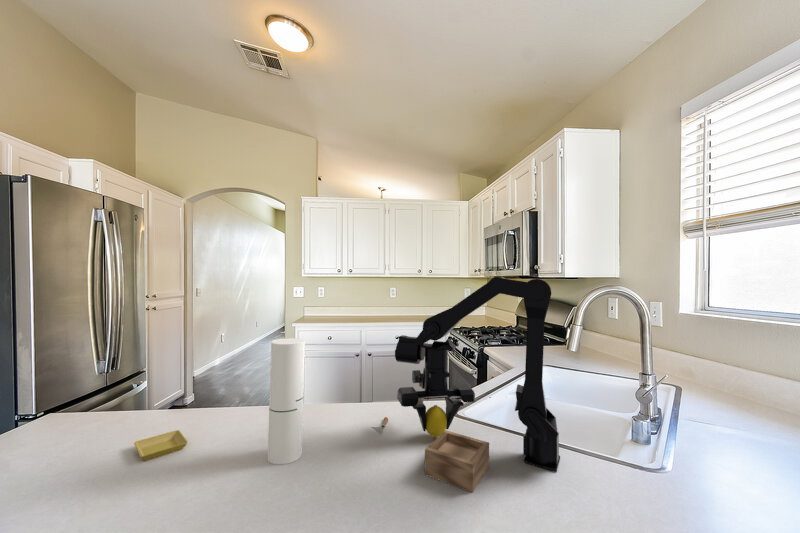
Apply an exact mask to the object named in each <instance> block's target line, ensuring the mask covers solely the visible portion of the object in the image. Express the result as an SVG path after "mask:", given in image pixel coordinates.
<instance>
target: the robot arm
mask: <svg viewBox="0 0 800 533" xmlns="http://www.w3.org/2000/svg"><path fill="white" fill-rule="evenodd" d="M500 294H502V295H505V296H511V297H516V298H520V299H521V298H522V299H523V304H524V309H525V315H526V338H525V342H526V345H525V346H526V347H525V367H524V368H525V370H524V372H525V373H524V381H523V385H522V384H517V385H516V389H515V398H516V400H515V401H516V402H515V406H514V411H515V412H517V415H518V420H519V421H520V422H521V423H522V424H523V425H524V426H525V427H526V430H525V432H524V435H523V436H522V437H523V439H522V441H523V446H522V447H523V450H522V451H523V456H524V458H523V462H524V463H527V464H530V465H533V466H536V467H540V468H544V469H546V470H550V471H553V472H557V471H558V469H559V466H560V465H559V464H560V461H561V456H560V451H559V450H560V447H559V446H560V438H559V437H560V432H559V431H558V425H557V417H556V416H555V415H554V414H553V413H552V411H550V410H549V409H548V407H547V403H546V397H545V390H544V389H545V388H544V384H543V372H544V371H543V369H544V367H543V366H544V348H545V347H544V342H545V323H546V322H545V321H546V317H547V314H548V309H549V306H550V303H551V302H550V301H551V296H552V288H551V285H550V284H549V283H548V282H546V281H545V280H543V279H540V278H533V279H530V280H528V281H523V280H515V279H509V278H505V277H502V276H494V277H491V279H490V280H489V281H488V282H486V283H485V284H483V285H482V286H481V287H479V288H478V289H476V290H474V292H472V293H470V294H469V295H468V296H466V297H465V298H464V299H462V300H461V301H459V302H458V303H456V304H455V305H453V306H452V307H450V308H447V309H445V310H444V311H441V312H438V313H436V314H435V315H432V316H430V317H428V318H426V319H425V320H424V321H423V324H422V330H421V332H419V334H418V335H417V336H409V335H399V336H398V341H397V343H396V346H395V349H394V358H395V360H396V362H399V363H404V364H405V363H407V364H414V365H419V364H420V363H421V362H422V361H424V367H423V370H422V371H423V372H421V370H420V369H418V370H417V369H416V370H415V369H414V370H412V372H411V373H412V374H411V378H412V379H411V380H412V384H418V385H419V387H421V389H422V390H416V389H415V388H414V386H405V387H399V388H398V390H397V391H396V392H397V395H396V396H397V397H396V399H397V400H398V402H399V404H400V405H401V407H402V408H403V407H405V408H406V407H412V408H413V410H416V412H417V415H418V418H419V422H420V424H421V428H422V431H423V432H427V430H426V412H427V406H426V405H425V404H424V400H431V399H432V400H434V399H444V400H445V414H446V418H447V427H446V430H450V429H449V428H450V426H451V424H452V423H453V419H454V418H455V416H456V414H457V412H458V411H459V410H460V408H461V407H463V406H464V405H465V403H473V402H474V403H475V401H476V393H475V391H474V389H472V388H471V387H470V386H469V385H468V384H466V383H461V384H460V383H457V384H453V385H452V386H451V388H450V389H449V388H448V386H449V385H448V383H449V382H448V379H449V378H450V372H449V370H448V369H449V366H448V365H449V359H448V358H449V351H450V352H451V351H454V350H455V349H456V348H457V345H456V344H455V343H453V342H452V339H450V338H448V339H446V341H440V340H441V339H442V338H444V337H446V336H447V335H448V334H450V332H452V330H454V328H456V326H458V324H459V323H460V322H461V321H462V320H463V319H464V318H466V317H468V316H469V315H470V314H472V313H473V312H475V311H476V310H478V309H479V308H481V307H482V306H484V305H485V304H487V303H488V302H489V301H491V300H492V299H495V297H497V296H499V295H500ZM429 341H433V342H432V343H427V342H429Z"/></svg>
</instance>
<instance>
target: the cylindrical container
mask: <svg viewBox="0 0 800 533" xmlns="http://www.w3.org/2000/svg"><path fill="white" fill-rule="evenodd" d="M305 350H306V340H305V339H304V338H278V339H274V340H272V341H271V343H270V366H269V367H270V370H269V371H270V373H269V374H270V378H269V403H268V404H269V406H268V407H269V408H268V434H267V436H268V437H267V439H268V440H267V461H268V462H269V463H270V464H272V465H287V464H290V463H293V462H296V461H297V460H298V459H300V458H301V456H302V455H303V432H304V431H303V430H304V429H303V427H304V425H303V424H304V421H303V420H304V393H305V392H304V389H305V388H304V386H305V358H306V357H305V354H306V353H305V352H306V351H305Z"/></svg>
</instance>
